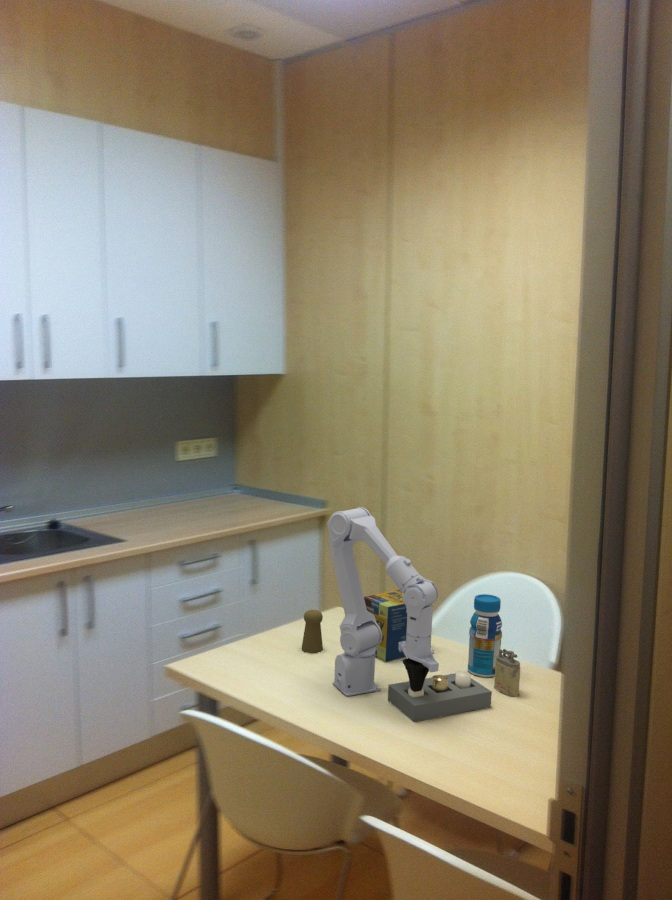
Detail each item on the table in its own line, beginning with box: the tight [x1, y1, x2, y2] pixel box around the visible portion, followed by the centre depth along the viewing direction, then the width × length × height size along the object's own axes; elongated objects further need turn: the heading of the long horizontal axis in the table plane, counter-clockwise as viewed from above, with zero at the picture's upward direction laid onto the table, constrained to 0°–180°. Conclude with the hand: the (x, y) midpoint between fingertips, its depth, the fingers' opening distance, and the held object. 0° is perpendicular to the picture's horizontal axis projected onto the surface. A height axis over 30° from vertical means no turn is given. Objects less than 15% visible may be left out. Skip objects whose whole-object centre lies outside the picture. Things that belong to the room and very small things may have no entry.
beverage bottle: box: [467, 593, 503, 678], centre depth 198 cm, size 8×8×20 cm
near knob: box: [408, 688, 425, 698], centre depth 176 cm, size 4×4×4 cm
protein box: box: [364, 589, 407, 663], centre depth 210 cm, size 10×15×16 cm
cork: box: [301, 609, 324, 654], centre depth 210 cm, size 6×6×11 cm
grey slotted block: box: [387, 672, 493, 723], centre depth 179 cm, size 21×12×4 cm, turn 115°
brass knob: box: [432, 674, 448, 693], centre depth 178 cm, size 4×4×4 cm
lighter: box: [493, 648, 521, 697], centre depth 187 cm, size 7×4×10 cm, turn 33°
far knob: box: [455, 670, 472, 689], centre depth 181 cm, size 4×4×4 cm
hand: (416, 690), depth 176 cm, fingers closed, pressing on near knob
